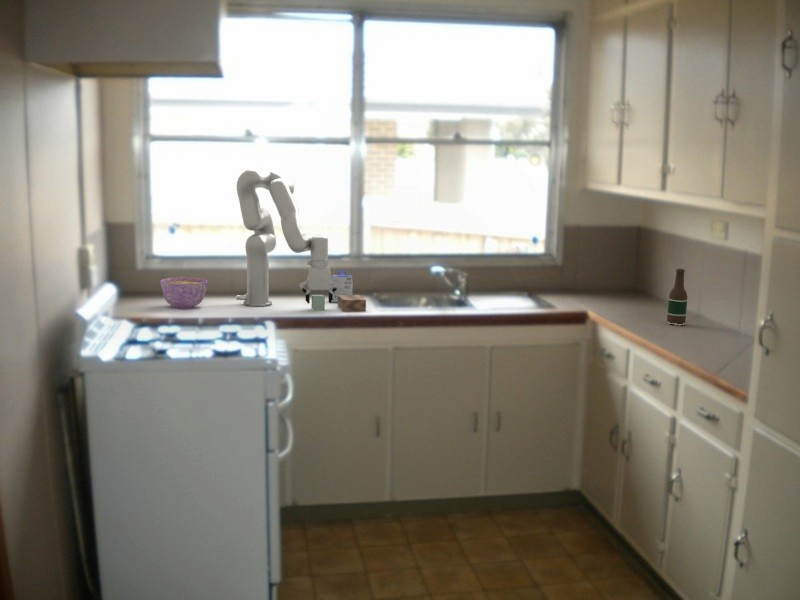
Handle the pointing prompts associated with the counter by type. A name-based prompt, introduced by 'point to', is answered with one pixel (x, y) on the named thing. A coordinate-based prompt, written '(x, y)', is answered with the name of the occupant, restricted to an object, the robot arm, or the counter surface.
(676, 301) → the beer bottle
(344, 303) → the brown wooden block
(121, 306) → the counter surface
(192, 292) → the bowl of food
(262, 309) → the counter surface
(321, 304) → the pale green block
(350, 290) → the ink cartridge box
